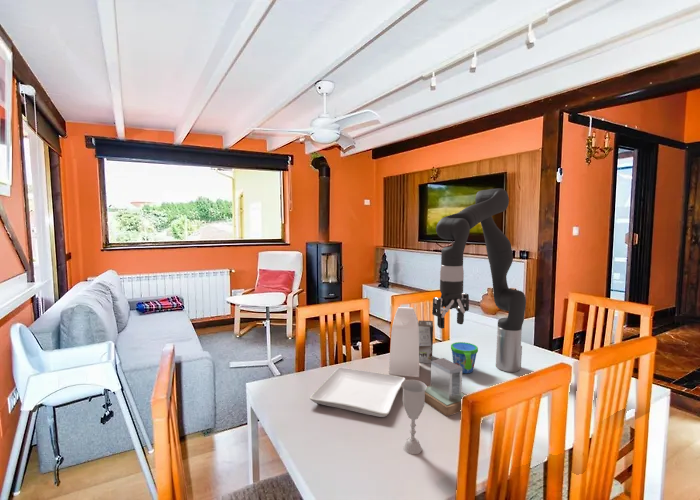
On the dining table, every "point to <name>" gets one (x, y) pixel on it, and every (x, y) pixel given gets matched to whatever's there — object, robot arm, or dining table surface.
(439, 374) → the housing
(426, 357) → the coffee box
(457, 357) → the snack cup
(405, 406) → the chalice
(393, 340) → the milk
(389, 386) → the square plate
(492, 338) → the dining table surface
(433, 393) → the wooden tray
